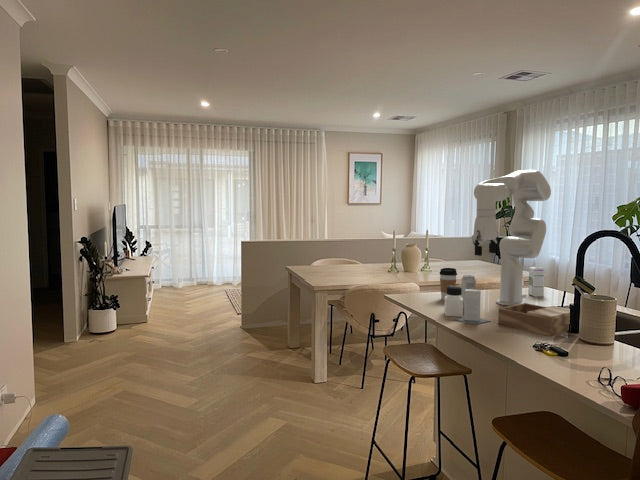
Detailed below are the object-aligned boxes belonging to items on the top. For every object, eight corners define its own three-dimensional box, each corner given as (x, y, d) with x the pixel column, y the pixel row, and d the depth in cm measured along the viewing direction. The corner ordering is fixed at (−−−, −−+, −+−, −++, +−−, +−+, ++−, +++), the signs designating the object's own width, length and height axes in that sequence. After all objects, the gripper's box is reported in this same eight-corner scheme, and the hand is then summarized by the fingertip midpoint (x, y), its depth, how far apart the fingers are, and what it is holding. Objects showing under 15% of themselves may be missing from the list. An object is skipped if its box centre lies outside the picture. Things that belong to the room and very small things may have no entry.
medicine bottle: (463, 317, 195) (463, 288, 194) (445, 316, 196) (445, 287, 195) (461, 313, 202) (462, 285, 201) (444, 312, 203) (444, 284, 202)
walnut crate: (525, 317, 195) (525, 300, 194) (576, 328, 177) (577, 310, 177) (498, 323, 185) (498, 305, 184) (549, 336, 167) (550, 316, 167)
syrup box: (544, 296, 239) (545, 268, 238) (532, 296, 239) (533, 268, 238) (539, 294, 245) (540, 266, 244) (527, 294, 245) (528, 266, 244)
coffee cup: (458, 298, 232) (459, 268, 231) (453, 301, 225) (454, 270, 224) (441, 296, 237) (442, 267, 236) (436, 299, 230) (437, 269, 228)
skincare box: (480, 319, 190) (481, 289, 189) (479, 321, 186) (480, 291, 185) (464, 317, 192) (465, 288, 191) (463, 320, 188) (464, 290, 187)
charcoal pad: (469, 316, 196) (469, 315, 196) (490, 321, 188) (490, 320, 188) (453, 319, 190) (453, 318, 190) (474, 325, 182) (474, 324, 182)
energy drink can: (470, 307, 212) (471, 274, 211) (477, 310, 206) (478, 276, 205) (458, 308, 211) (459, 275, 210) (464, 311, 205) (465, 277, 204)
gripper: (491, 212, 206) (490, 251, 208) (465, 214, 196) (465, 255, 198) (506, 212, 200) (505, 252, 202) (480, 215, 190) (480, 257, 192)
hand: (485, 254), depth 200 cm, fingers open, 9 cm apart
